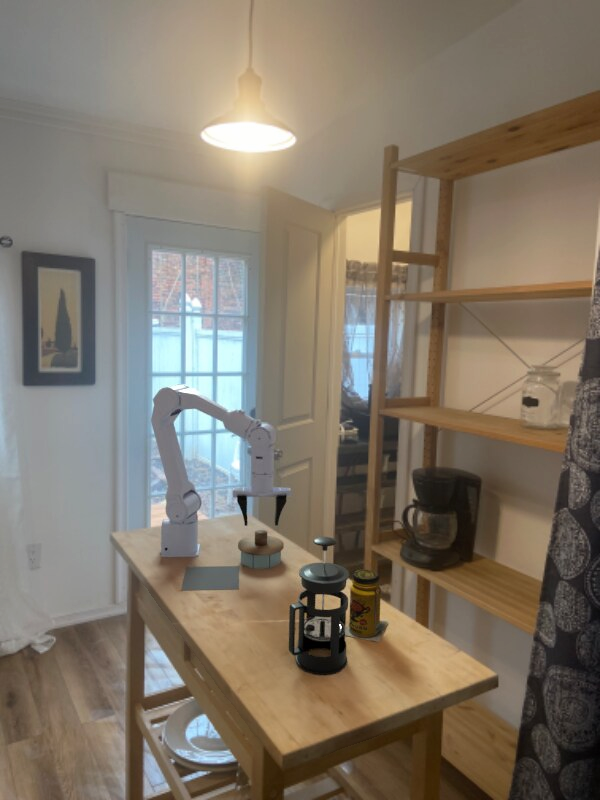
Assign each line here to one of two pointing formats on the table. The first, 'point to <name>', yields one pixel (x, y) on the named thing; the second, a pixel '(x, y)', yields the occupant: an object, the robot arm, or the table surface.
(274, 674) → the table surface
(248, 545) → the lid
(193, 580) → the mat
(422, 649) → the table surface
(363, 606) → the condiment
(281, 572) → the table surface
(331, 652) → the french press
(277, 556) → the bowl
